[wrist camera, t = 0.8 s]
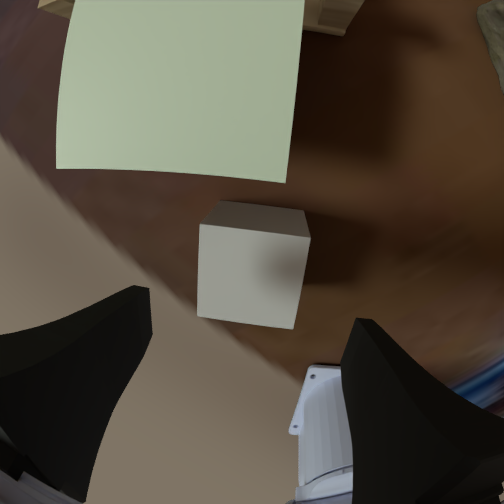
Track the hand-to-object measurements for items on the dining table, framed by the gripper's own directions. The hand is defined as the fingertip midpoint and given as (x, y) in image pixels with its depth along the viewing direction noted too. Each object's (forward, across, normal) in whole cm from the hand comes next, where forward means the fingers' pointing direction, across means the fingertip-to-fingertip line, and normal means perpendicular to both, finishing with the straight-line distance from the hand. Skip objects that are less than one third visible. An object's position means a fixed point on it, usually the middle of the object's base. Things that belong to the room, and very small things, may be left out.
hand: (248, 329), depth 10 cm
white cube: (+7, 0, 0) cm, 7 cm away
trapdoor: (+4, +4, -11) cm, 12 cm away
